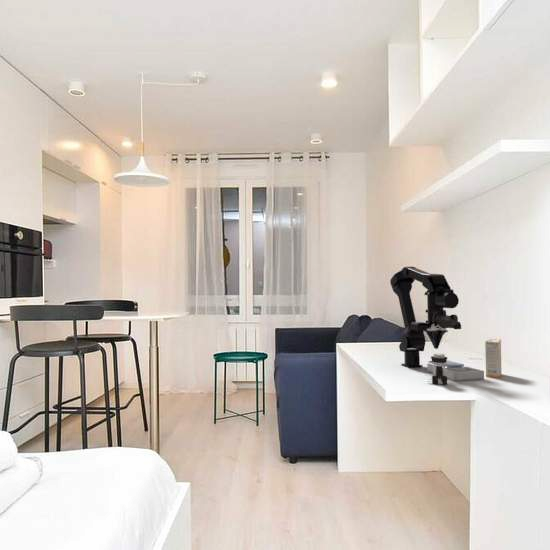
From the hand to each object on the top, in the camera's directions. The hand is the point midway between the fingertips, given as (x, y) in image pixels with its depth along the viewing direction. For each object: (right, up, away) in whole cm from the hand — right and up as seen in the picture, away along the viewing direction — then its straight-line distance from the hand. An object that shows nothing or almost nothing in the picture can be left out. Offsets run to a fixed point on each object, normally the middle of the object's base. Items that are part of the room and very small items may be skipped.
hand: (436, 348), depth 173 cm
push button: (-6, -10, -17) cm, 20 cm away
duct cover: (+4, -6, +1) cm, 7 cm away
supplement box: (+20, -10, -4) cm, 23 cm away
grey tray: (+5, -9, -3) cm, 11 cm away
